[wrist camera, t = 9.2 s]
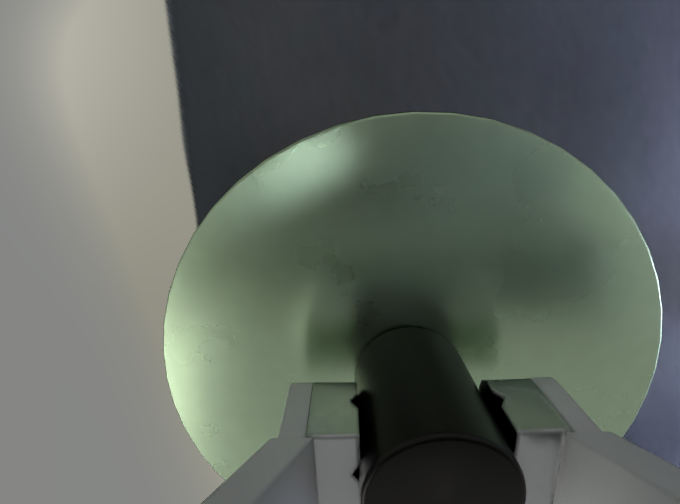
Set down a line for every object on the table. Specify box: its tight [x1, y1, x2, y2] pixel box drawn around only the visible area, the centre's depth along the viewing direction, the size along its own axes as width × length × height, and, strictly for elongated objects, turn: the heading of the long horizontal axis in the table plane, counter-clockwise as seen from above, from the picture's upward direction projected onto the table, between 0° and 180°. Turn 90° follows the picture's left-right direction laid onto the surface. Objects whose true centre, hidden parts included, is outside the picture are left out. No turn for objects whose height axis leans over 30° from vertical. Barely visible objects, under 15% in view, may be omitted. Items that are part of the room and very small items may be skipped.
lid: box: [163, 111, 662, 504], centre depth 8 cm, size 13×13×5 cm
